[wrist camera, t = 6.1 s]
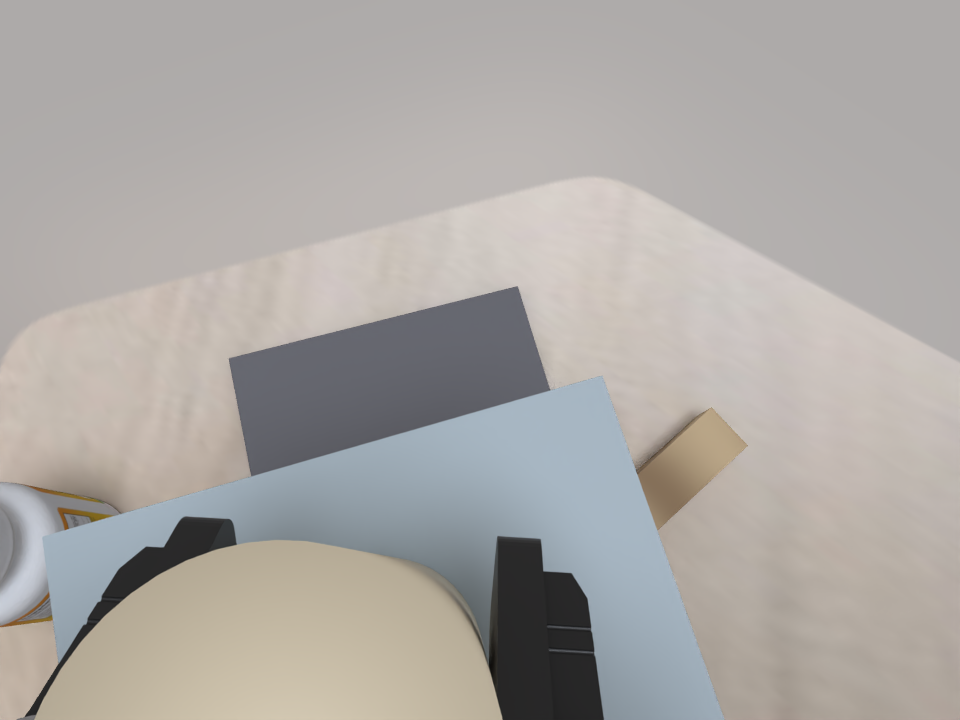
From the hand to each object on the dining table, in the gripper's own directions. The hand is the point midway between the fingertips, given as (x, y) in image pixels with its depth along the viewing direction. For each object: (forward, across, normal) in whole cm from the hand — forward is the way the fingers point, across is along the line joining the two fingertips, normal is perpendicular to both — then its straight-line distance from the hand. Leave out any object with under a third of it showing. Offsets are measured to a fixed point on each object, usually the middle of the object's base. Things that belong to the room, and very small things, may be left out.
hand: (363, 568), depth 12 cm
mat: (+20, +2, +12) cm, 24 cm away
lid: (+3, 0, +5) cm, 6 cm away
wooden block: (+20, -11, +13) cm, 26 cm away
